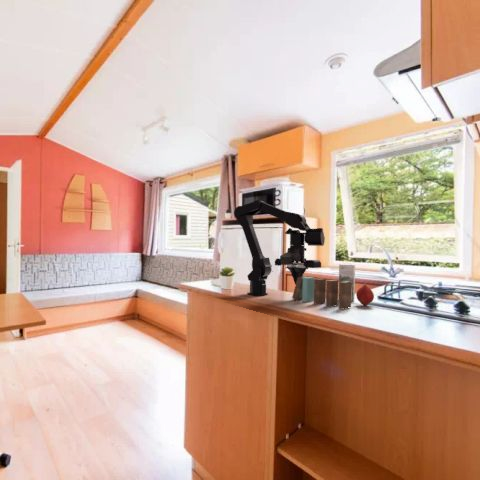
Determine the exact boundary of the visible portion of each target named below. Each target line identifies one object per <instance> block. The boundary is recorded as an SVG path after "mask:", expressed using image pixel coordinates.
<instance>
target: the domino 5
mask: <svg viewBox="0 0 480 480" xmlns="http://www.w3.org/2000/svg"><path fill="white" fill-rule="evenodd" d="M348 307H351V308H352V301H351V282H349V281H344V282H339V281H338V309H340V308H344V309H343V310H346V309H345V308H347V309H349V308H348Z"/></svg>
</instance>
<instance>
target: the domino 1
mask: <svg viewBox="0 0 480 480" xmlns="http://www.w3.org/2000/svg"><path fill="white" fill-rule="evenodd" d="M306 277H307V276H306V275H304V276H302V277H298V279H297V282H296V285H295V287H294V291H293V293H292V296H291V299H293V300H294V301H300V300H302V293H303V278H306Z"/></svg>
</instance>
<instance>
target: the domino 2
mask: <svg viewBox="0 0 480 480" xmlns="http://www.w3.org/2000/svg"><path fill="white" fill-rule="evenodd" d="M314 279H315V277H311V276H306V278H303V293H302V299H301V301H302V302H303V303H310V301H311V302H314Z"/></svg>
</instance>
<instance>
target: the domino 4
mask: <svg viewBox="0 0 480 480" xmlns="http://www.w3.org/2000/svg"><path fill="white" fill-rule="evenodd" d="M335 305H336V306H339V279H331V280H330V279H329V280H327V279H326V303H325V306H326V307H329V306H332V307H336V306H335Z"/></svg>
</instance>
